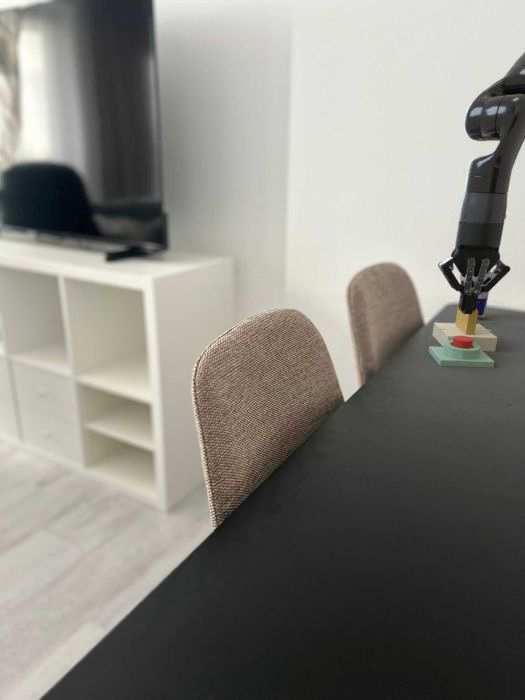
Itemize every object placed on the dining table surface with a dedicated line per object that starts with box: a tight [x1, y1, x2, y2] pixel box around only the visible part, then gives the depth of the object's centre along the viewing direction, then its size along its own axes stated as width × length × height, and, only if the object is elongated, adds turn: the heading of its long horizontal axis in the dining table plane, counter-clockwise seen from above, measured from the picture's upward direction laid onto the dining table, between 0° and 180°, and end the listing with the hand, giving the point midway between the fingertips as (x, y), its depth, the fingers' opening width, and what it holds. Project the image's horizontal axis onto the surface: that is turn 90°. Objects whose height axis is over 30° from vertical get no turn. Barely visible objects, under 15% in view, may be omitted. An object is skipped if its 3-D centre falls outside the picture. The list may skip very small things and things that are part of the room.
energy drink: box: [476, 269, 492, 321], centre depth 128 cm, size 5×5×12 cm
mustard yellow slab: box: [454, 303, 478, 335], centre depth 108 cm, size 7×2×5 cm, turn 177°
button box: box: [428, 340, 495, 368], centre depth 99 cm, size 10×8×3 cm
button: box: [452, 336, 473, 349], centre depth 99 cm, size 4×4×2 cm
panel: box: [432, 321, 498, 352], centre depth 109 cm, size 11×11×3 cm
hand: (466, 313), depth 97 cm, fingers closed
